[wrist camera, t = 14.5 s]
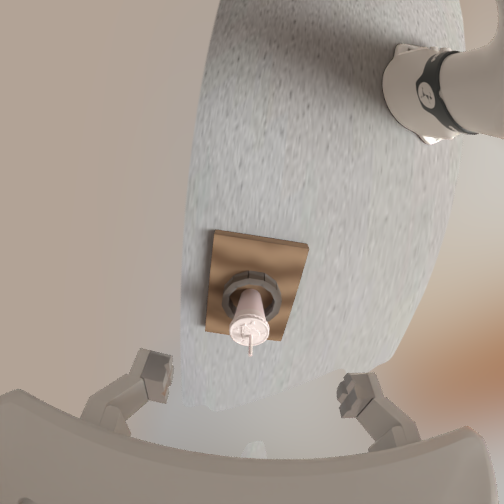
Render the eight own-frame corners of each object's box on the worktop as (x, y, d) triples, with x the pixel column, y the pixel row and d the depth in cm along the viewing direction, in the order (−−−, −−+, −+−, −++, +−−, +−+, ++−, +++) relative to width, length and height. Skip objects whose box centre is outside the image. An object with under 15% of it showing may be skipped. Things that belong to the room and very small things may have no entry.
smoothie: (244, 314, 52) (241, 370, 40) (226, 291, 50) (217, 346, 37) (274, 301, 50) (278, 358, 38) (257, 276, 48) (256, 332, 35)
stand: (215, 229, 46) (211, 240, 42) (307, 243, 47) (311, 256, 43) (206, 324, 56) (203, 339, 52) (280, 334, 57) (281, 349, 53)
